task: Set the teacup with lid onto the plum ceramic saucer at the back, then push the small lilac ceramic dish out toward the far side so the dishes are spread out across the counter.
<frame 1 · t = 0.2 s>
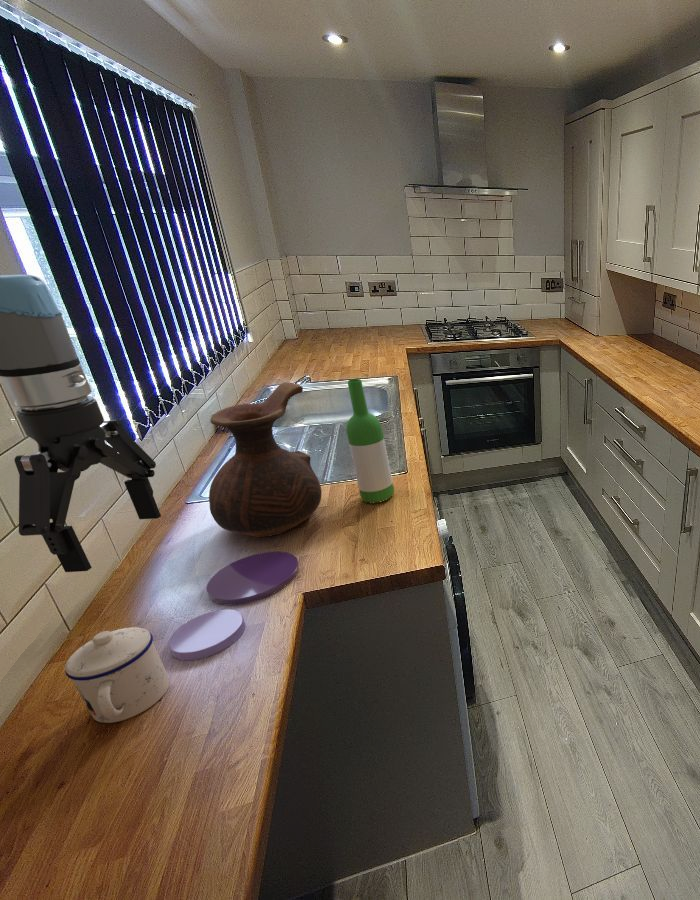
hand: (117, 542, 76), 20 cm above the countertop, tool pointing down, fingers open, 13 cm apart
teacup with lid: (131, 706, 74), on the countertop
saucer: (255, 578, 100), on the countertop
wine bottle: (378, 498, 130), on the countertop
lilac dish: (209, 637, 86), on the countertop
jug: (277, 522, 120), on the countertop
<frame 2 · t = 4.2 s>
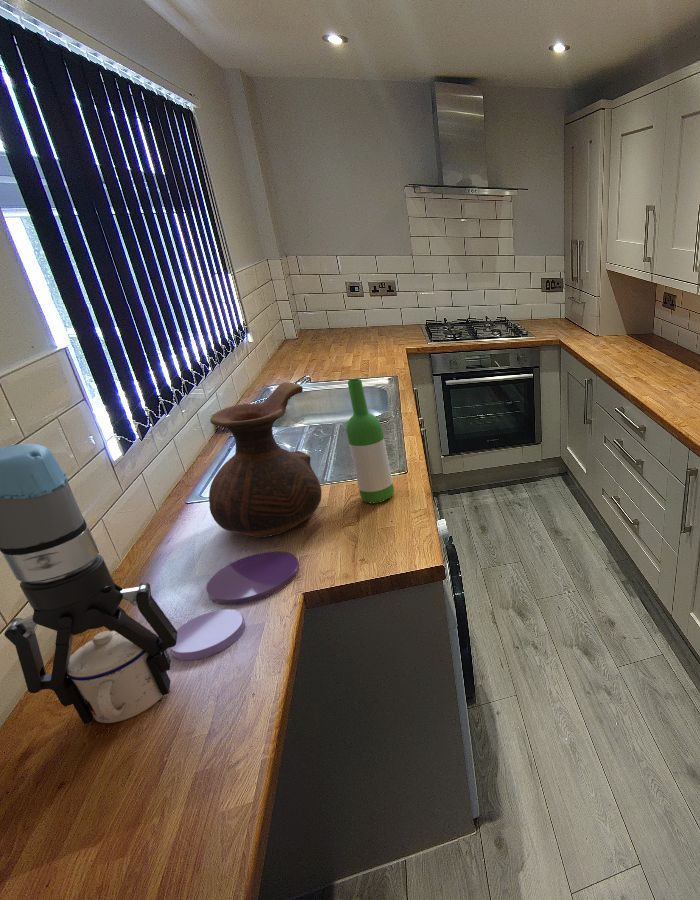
hand: (129, 701, 74), 1 cm above the countertop, tool pointing down, fingers closed on teacup with lid, 8 cm apart
teacup with lid: (131, 706, 74), on the countertop, touching gripper
everything else where it was.
when the fingers open (2 cm above the countertop, at t = 12.6 s): teacup with lid stays where it is, resting on saucer.
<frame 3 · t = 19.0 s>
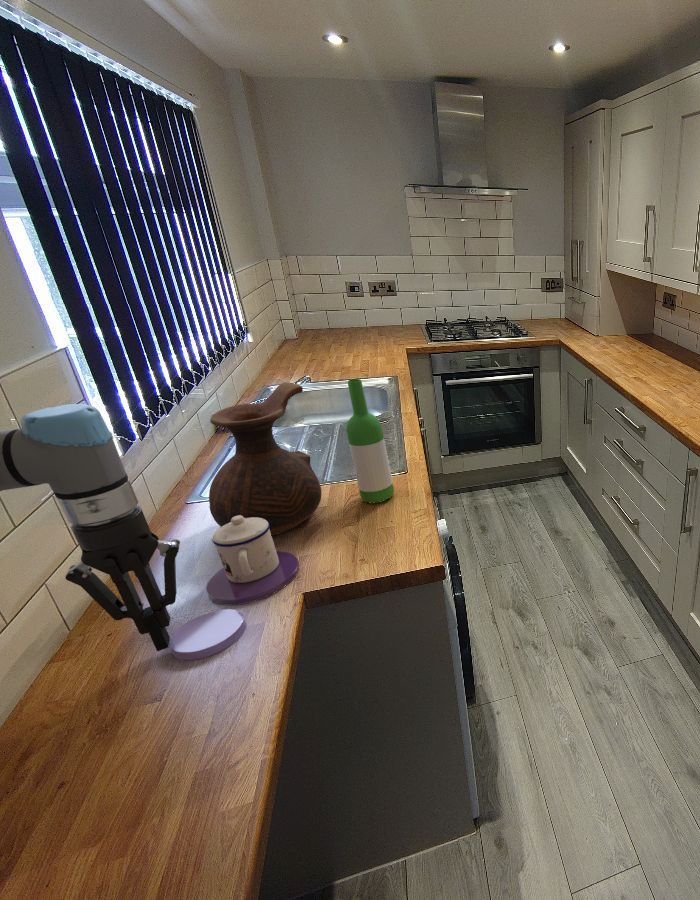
hand: (163, 644, 83), 2 cm above the countertop, tool pointing down, fingers closed
teacup with lid: (254, 574, 100), point 1 cm above the countertop, touching saucer
lilac dish: (210, 637, 86), on the countertop, touching gripper
everything else where it was.
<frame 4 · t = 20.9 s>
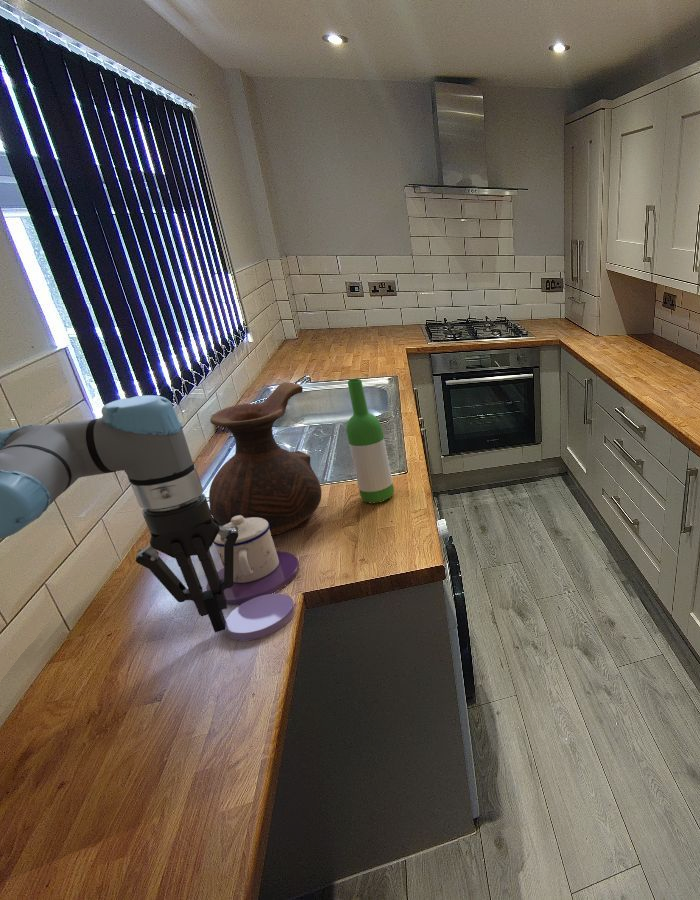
hand: (220, 626, 86), 1 cm above the countertop, tool pointing down, fingers closed
lilac dish: (262, 619, 90), on the countertop, touching gripper
everything else where it was.
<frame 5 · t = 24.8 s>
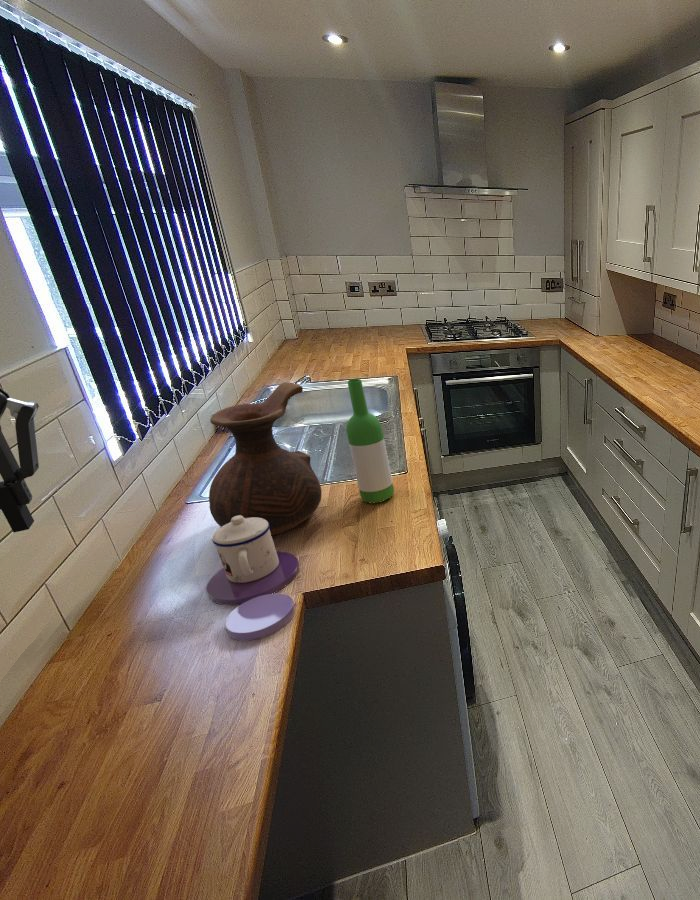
hand: (24, 526, 72), 24 cm above the countertop, tool pointing down, fingers closed
lilac dish: (262, 619, 90), on the countertop
everything else where it was.
at the end: teacup with lid 0.1 cm off-centre on the saucer, point 1.0 cm above the saucer's base; teacup with lid tilted 0°; lilac dish inside the target area (2.0 cm from its centre), on the countertop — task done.
